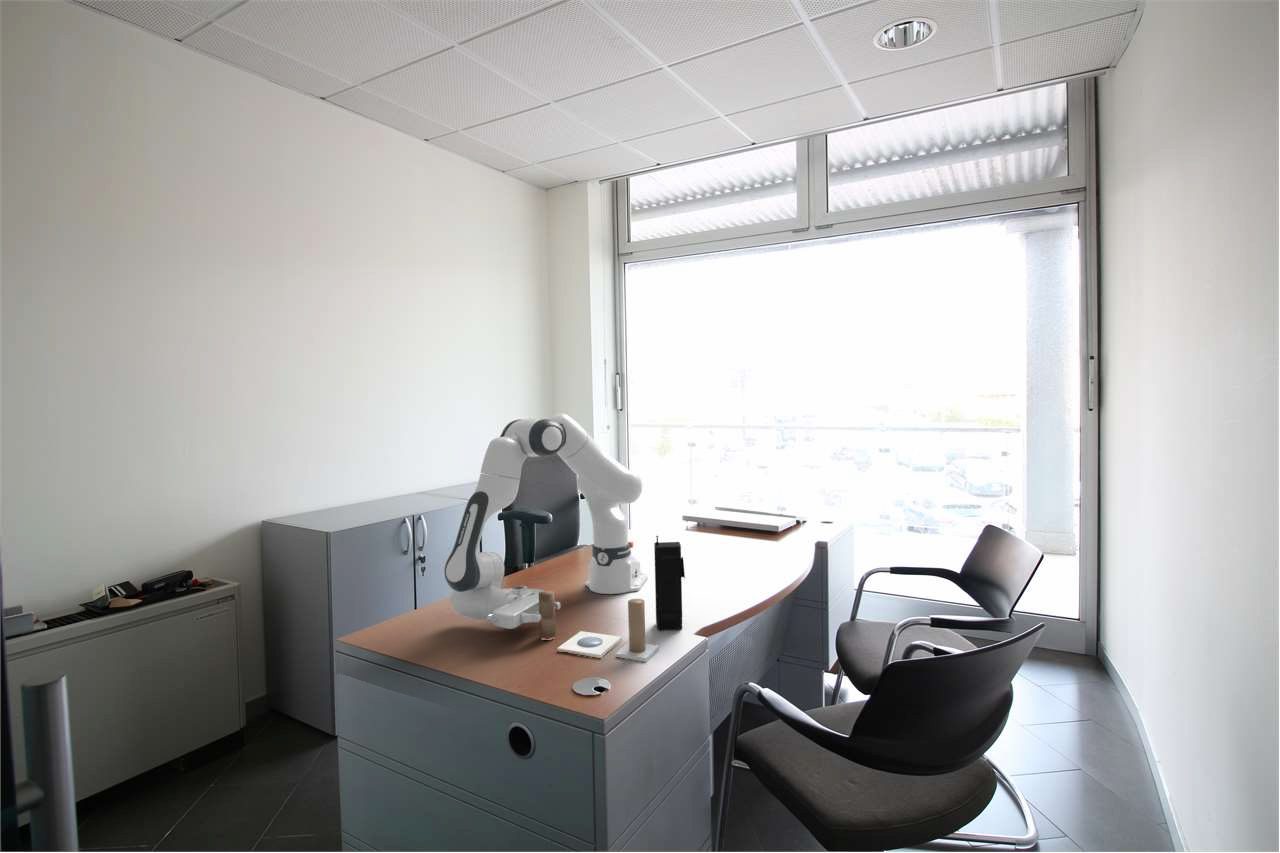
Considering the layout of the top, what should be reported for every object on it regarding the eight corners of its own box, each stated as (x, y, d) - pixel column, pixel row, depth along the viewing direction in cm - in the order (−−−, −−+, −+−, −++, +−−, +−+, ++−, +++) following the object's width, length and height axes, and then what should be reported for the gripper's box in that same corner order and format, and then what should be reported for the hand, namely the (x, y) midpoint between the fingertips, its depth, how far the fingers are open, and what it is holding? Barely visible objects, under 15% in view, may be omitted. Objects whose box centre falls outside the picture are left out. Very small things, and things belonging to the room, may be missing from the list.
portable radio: (684, 621, 187) (682, 531, 185) (686, 629, 181) (684, 536, 179) (655, 622, 187) (653, 532, 185) (657, 630, 181) (654, 537, 179)
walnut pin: (545, 634, 180) (543, 589, 179) (558, 636, 178) (557, 591, 178) (537, 639, 176) (535, 594, 176) (550, 641, 175) (549, 596, 174)
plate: (580, 634, 179) (580, 630, 179) (622, 640, 174) (621, 636, 174) (557, 651, 168) (557, 647, 168) (600, 658, 163) (600, 654, 163)
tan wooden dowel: (629, 645, 171) (628, 594, 170) (658, 649, 168) (657, 598, 167) (615, 657, 164) (614, 604, 163) (646, 662, 161) (644, 608, 160)
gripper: (480, 607, 172) (527, 613, 167) (525, 583, 191) (568, 588, 186) (481, 631, 173) (528, 638, 167) (526, 605, 192) (569, 611, 186)
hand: (549, 612), depth 177 cm, fingers open, 8 cm apart
